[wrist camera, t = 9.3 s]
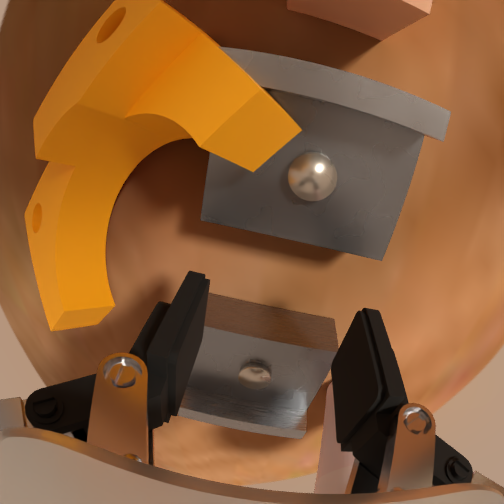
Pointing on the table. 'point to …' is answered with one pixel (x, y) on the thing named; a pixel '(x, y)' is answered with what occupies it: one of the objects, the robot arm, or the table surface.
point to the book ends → (302, 232)
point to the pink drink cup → (332, 455)
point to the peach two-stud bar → (366, 13)
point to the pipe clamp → (130, 138)
